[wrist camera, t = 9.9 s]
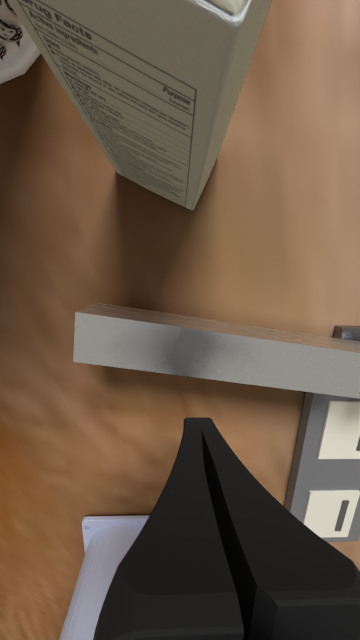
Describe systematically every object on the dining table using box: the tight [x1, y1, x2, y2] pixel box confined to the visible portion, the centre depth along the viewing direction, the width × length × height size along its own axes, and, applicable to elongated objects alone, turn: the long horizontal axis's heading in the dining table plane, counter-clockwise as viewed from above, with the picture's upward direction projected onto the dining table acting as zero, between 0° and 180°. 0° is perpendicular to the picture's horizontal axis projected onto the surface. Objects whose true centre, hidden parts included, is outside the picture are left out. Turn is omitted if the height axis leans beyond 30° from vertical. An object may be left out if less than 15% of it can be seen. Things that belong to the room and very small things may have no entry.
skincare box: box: [7, 0, 272, 210], centre depth 9 cm, size 6×4×12 cm
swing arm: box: [73, 302, 360, 399], centre depth 14 cm, size 20×3×3 cm, turn 81°
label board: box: [284, 392, 360, 542], centre depth 21 cm, size 18×8×1 cm, turn 178°
